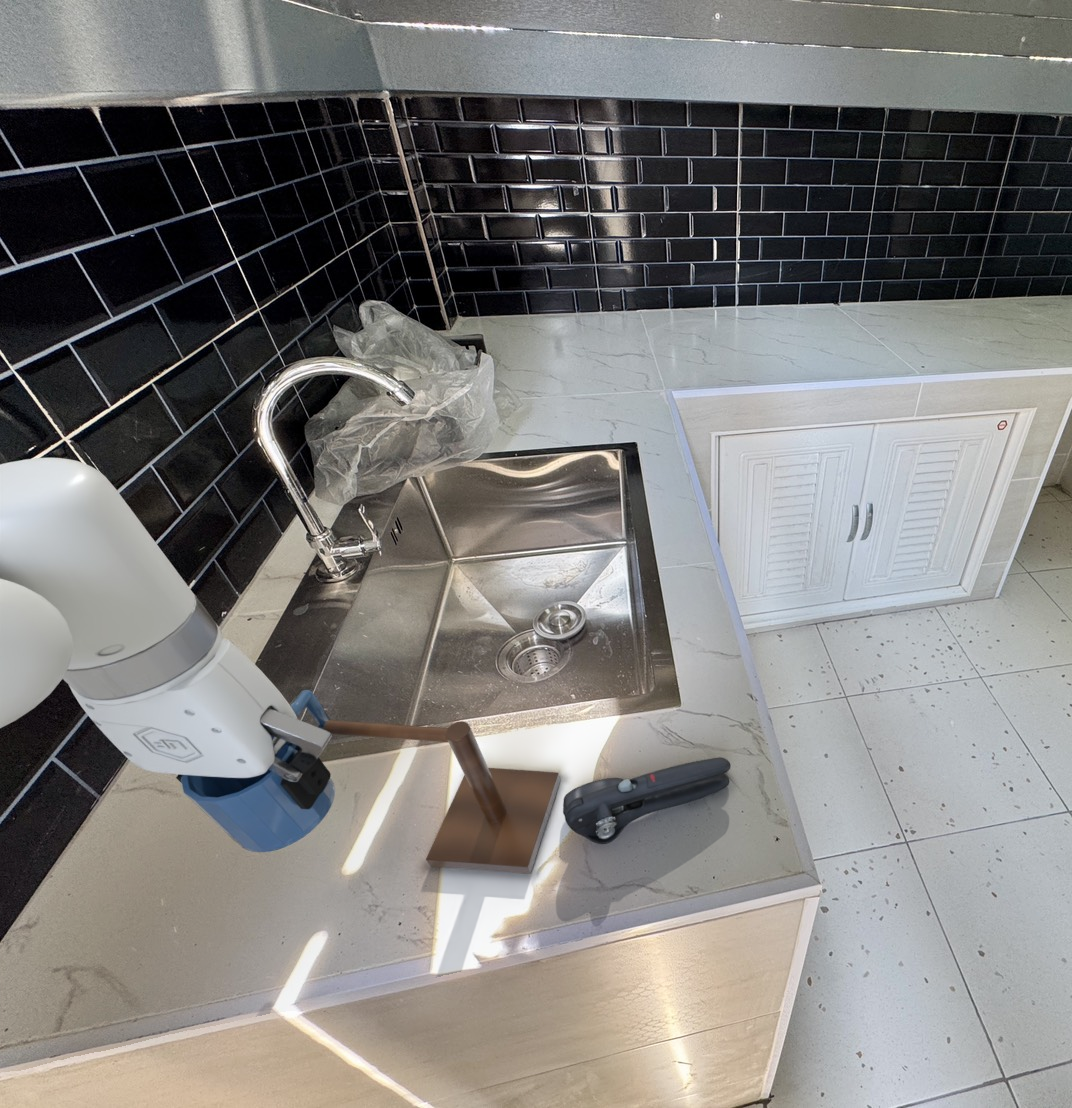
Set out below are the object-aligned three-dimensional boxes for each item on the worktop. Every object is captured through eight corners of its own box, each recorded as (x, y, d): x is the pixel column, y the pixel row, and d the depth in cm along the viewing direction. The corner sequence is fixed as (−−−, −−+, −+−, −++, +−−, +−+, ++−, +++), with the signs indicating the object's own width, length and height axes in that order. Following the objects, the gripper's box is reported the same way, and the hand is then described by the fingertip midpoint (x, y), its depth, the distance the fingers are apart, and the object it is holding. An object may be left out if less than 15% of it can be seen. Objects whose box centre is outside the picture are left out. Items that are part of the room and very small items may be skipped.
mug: (301, 855, 49) (254, 804, 44) (213, 849, 49) (156, 798, 44) (375, 735, 58) (342, 681, 53) (300, 730, 58) (260, 676, 53)
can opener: (570, 863, 59) (561, 835, 56) (563, 799, 64) (554, 770, 61) (741, 809, 64) (742, 781, 60) (721, 754, 69) (721, 725, 65)
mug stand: (530, 874, 58) (491, 787, 48) (360, 861, 59) (287, 773, 49) (560, 779, 66) (532, 688, 56) (410, 769, 67) (355, 677, 57)
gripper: (-51, 682, 36) (130, 826, 47) (229, 699, 36) (346, 841, 47) (65, 597, 42) (201, 743, 53) (307, 611, 42) (394, 756, 53)
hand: (268, 788), depth 50 cm, fingers closed on mug, 7 cm apart
